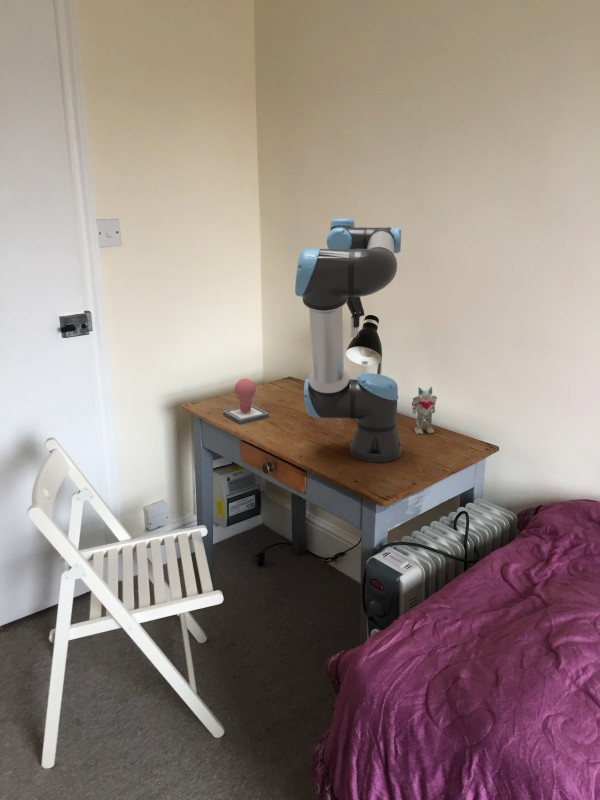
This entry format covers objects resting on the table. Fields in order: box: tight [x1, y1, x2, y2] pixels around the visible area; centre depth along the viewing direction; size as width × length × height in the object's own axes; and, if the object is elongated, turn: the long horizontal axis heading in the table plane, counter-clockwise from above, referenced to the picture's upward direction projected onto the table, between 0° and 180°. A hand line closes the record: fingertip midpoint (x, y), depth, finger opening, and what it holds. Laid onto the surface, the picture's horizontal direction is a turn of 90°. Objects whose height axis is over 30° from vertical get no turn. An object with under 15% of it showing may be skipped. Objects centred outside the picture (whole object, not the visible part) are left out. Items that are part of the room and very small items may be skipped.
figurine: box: [411, 386, 438, 435], centre depth 208 cm, size 8×8×15 cm
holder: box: [222, 403, 270, 425], centre depth 224 cm, size 12×12×2 cm
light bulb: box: [234, 378, 257, 412], centre depth 222 cm, size 7×7×12 cm
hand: (341, 333), depth 216 cm, fingers open, 13 cm apart
